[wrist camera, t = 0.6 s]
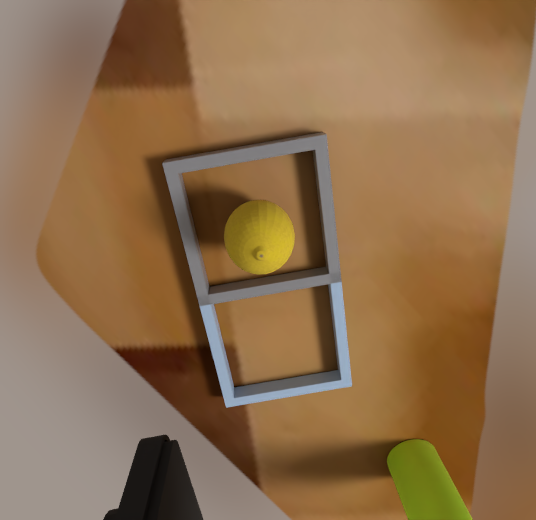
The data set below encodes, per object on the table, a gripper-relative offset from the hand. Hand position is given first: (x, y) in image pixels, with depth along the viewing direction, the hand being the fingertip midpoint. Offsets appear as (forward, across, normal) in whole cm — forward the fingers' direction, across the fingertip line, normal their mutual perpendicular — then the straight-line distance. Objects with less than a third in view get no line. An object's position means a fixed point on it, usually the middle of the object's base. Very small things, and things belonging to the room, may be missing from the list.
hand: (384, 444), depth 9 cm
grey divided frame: (+28, +2, +8) cm, 29 cm away
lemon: (+28, +2, +2) cm, 28 cm away
